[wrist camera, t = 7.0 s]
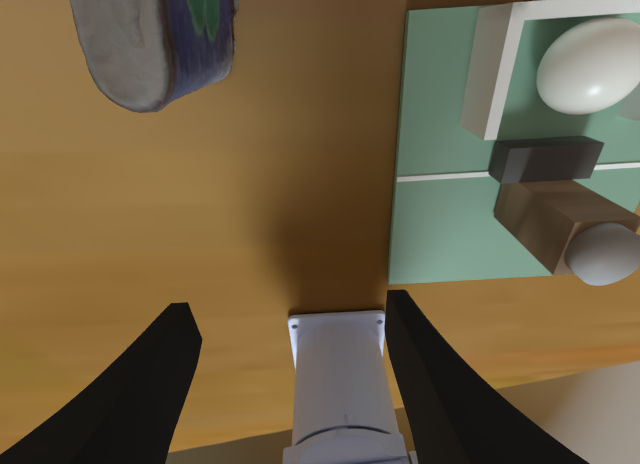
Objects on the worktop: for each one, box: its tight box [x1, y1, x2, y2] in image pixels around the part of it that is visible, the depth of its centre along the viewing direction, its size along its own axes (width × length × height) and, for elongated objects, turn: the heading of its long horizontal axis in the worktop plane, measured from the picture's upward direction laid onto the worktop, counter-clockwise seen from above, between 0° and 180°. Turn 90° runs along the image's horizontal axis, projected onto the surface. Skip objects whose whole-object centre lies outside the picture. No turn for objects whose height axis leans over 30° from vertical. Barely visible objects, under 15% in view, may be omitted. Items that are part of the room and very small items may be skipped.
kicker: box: [488, 136, 640, 285], centre depth 16 cm, size 5×5×7 cm
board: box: [387, 4, 640, 285], centre depth 20 cm, size 17×16×1 cm
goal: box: [459, 0, 640, 140], centre depth 15 cm, size 5×9×3 cm, turn 93°
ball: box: [536, 16, 640, 115], centre depth 15 cm, size 4×4×4 cm
